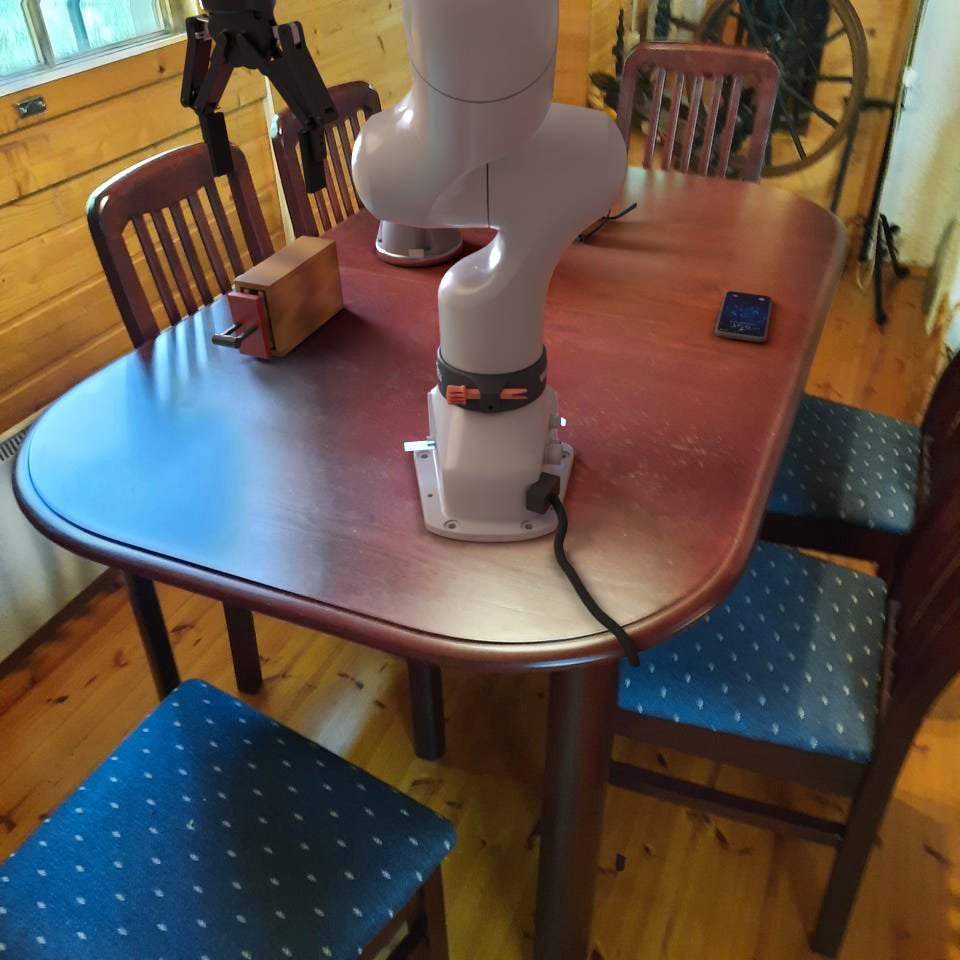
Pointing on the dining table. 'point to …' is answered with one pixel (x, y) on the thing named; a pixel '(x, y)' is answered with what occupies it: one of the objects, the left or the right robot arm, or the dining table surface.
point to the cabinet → (297, 289)
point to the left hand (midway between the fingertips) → (269, 181)
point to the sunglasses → (605, 221)
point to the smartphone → (744, 316)
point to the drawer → (248, 324)
